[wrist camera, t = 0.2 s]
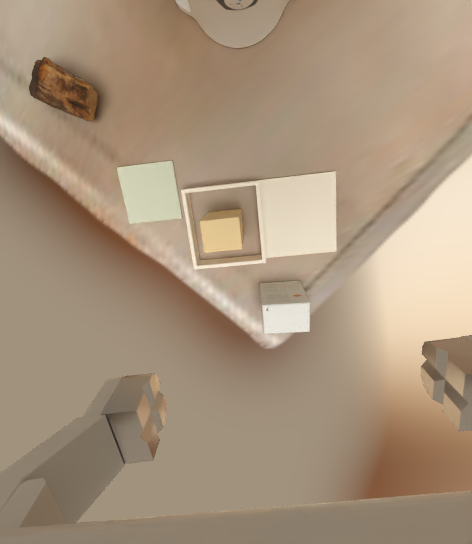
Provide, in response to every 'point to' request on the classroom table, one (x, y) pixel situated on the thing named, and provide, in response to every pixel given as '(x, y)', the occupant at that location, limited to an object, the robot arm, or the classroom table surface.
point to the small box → (284, 307)
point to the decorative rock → (62, 90)
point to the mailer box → (281, 218)
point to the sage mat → (150, 192)
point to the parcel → (222, 230)
